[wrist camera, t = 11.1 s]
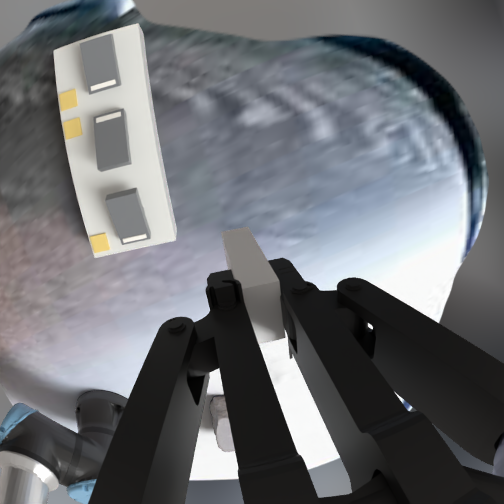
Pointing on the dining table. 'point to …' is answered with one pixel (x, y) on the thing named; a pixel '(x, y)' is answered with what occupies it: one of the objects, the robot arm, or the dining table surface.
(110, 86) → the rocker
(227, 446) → the decorative stone
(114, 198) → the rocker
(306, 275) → the dining table surface
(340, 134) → the dining table surface
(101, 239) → the switch console
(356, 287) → the robot arm
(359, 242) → the dining table surface
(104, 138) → the rocker middle
